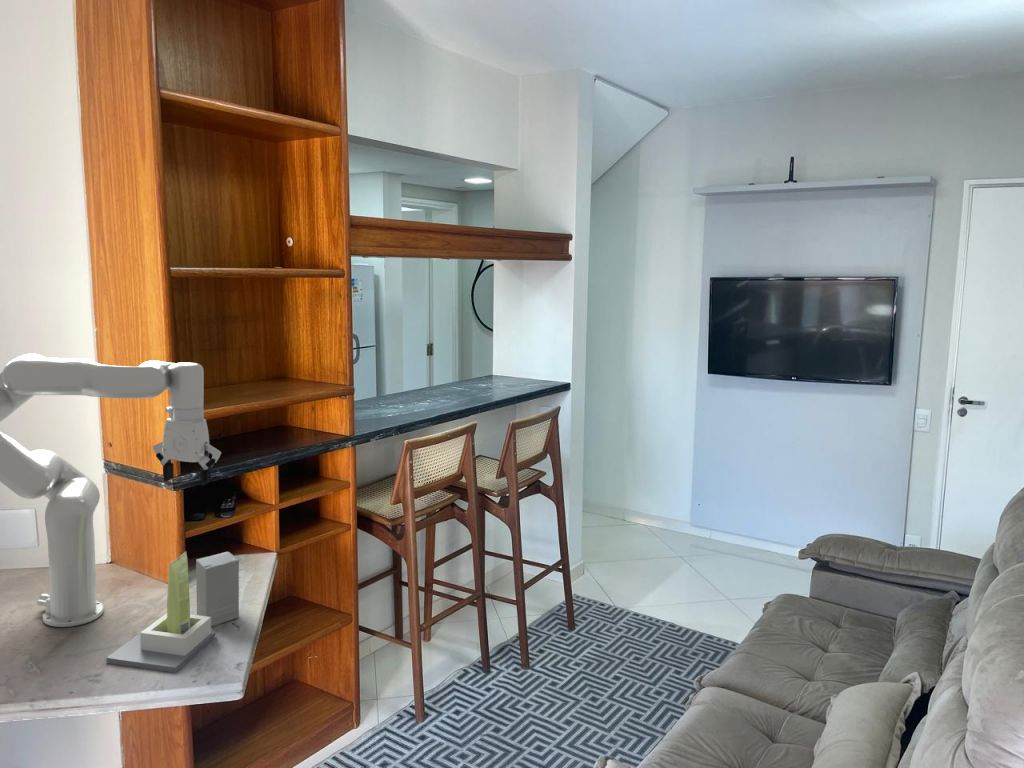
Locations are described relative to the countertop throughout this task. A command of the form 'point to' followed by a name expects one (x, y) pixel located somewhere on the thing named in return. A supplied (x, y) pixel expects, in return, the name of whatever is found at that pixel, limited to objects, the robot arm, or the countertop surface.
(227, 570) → the skincare box
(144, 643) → the dock
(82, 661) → the countertop surface
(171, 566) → the tube
